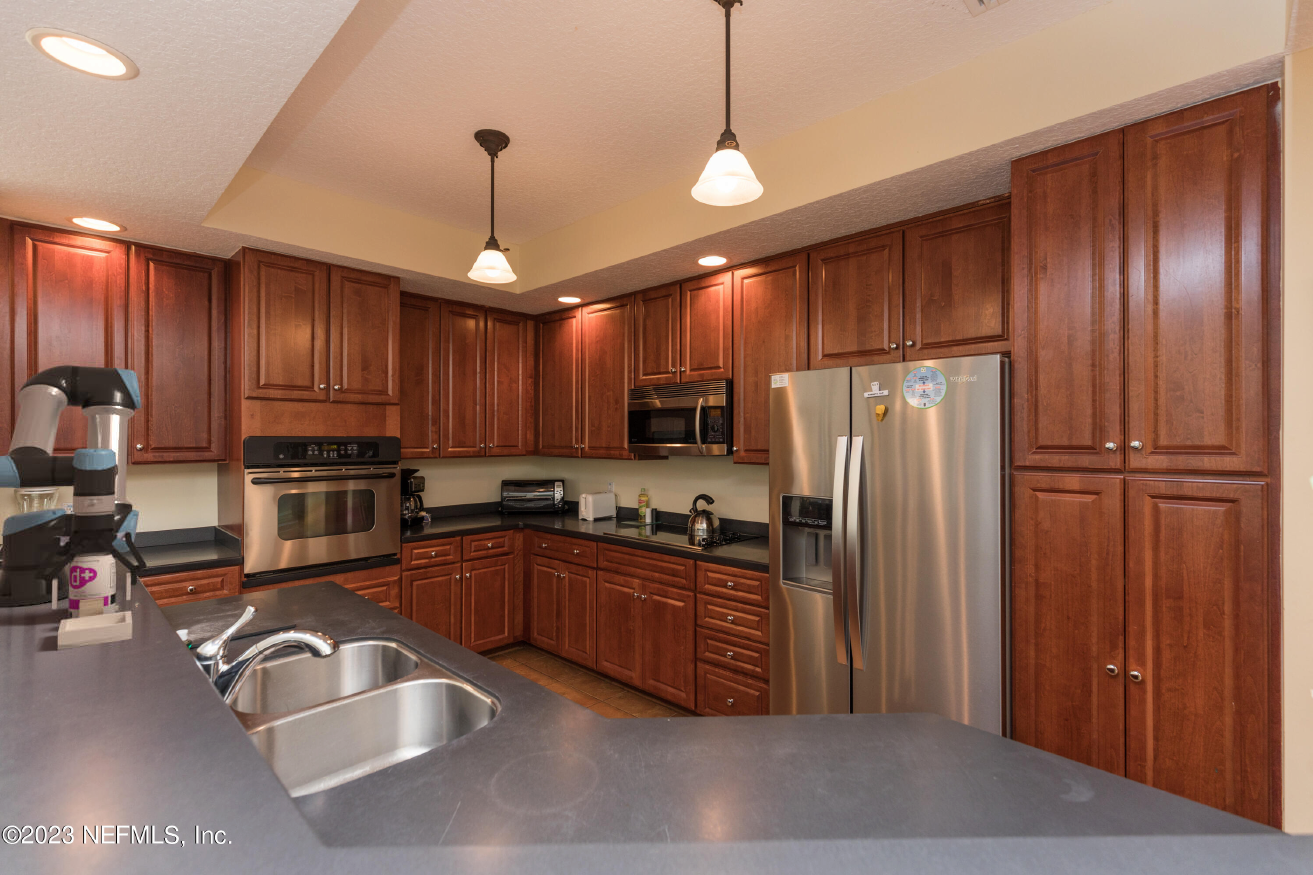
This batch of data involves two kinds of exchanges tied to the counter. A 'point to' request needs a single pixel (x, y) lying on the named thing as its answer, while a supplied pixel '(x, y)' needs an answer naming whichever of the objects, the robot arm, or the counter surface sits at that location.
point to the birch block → (91, 607)
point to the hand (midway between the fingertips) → (92, 603)
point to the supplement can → (92, 581)
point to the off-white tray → (94, 630)
